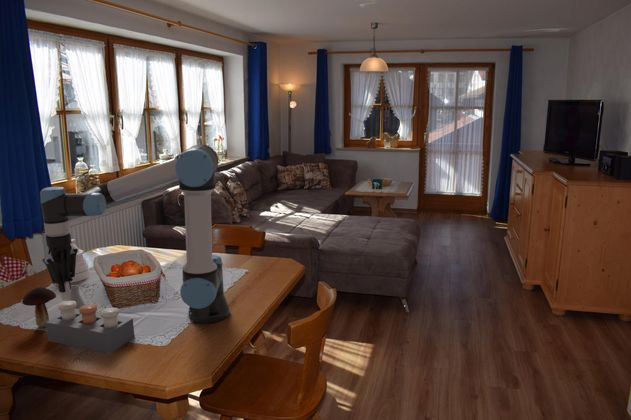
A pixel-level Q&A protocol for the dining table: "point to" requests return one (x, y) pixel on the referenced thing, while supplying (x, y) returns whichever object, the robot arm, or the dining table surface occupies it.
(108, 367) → the dining table surface
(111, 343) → the grey rectangular block
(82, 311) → the middle knob
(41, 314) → the decorative mushroom
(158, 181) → the robot arm
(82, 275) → the honey pot
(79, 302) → the flask
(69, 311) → the far knob
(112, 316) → the near knob
